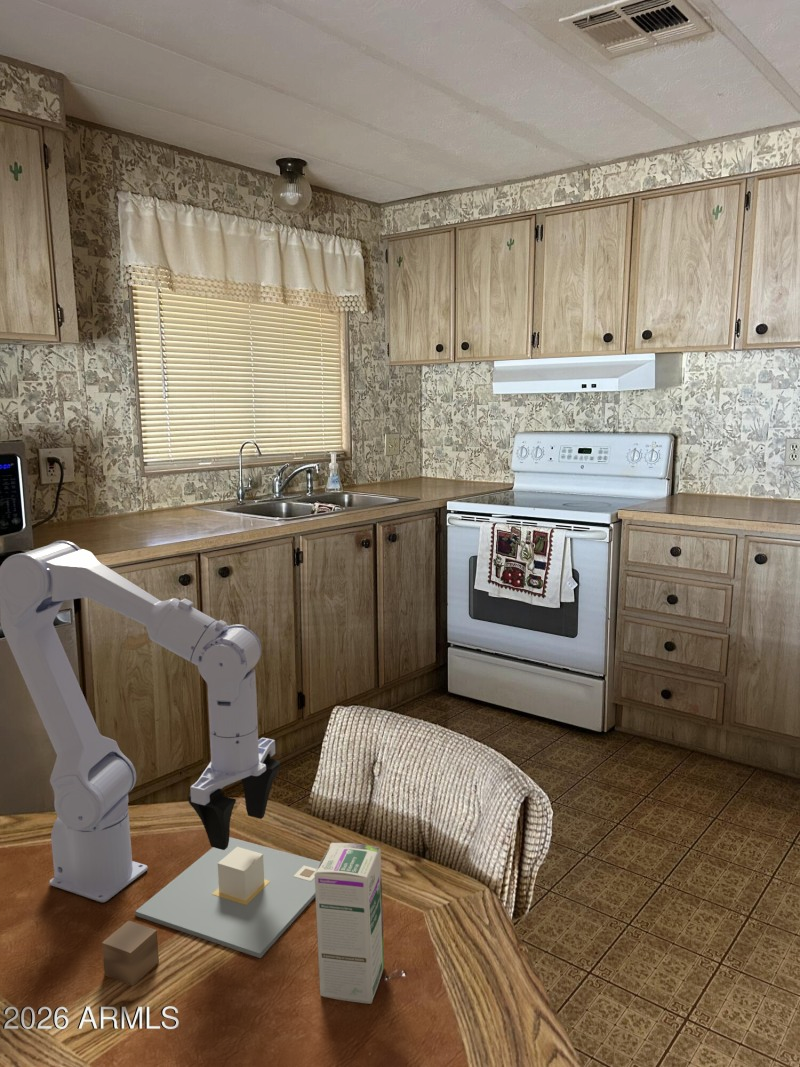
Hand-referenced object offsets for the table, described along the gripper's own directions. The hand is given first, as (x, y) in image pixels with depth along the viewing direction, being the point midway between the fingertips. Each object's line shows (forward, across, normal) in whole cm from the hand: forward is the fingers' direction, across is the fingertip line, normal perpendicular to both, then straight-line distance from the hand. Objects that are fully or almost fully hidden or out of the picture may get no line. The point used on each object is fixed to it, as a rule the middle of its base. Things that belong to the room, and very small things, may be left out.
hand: (238, 831), depth 99 cm
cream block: (+8, 0, 0) cm, 8 cm away
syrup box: (+8, -8, -20) cm, 23 cm away
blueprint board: (+8, 0, 0) cm, 8 cm away
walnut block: (+8, -16, +3) cm, 18 cm away
